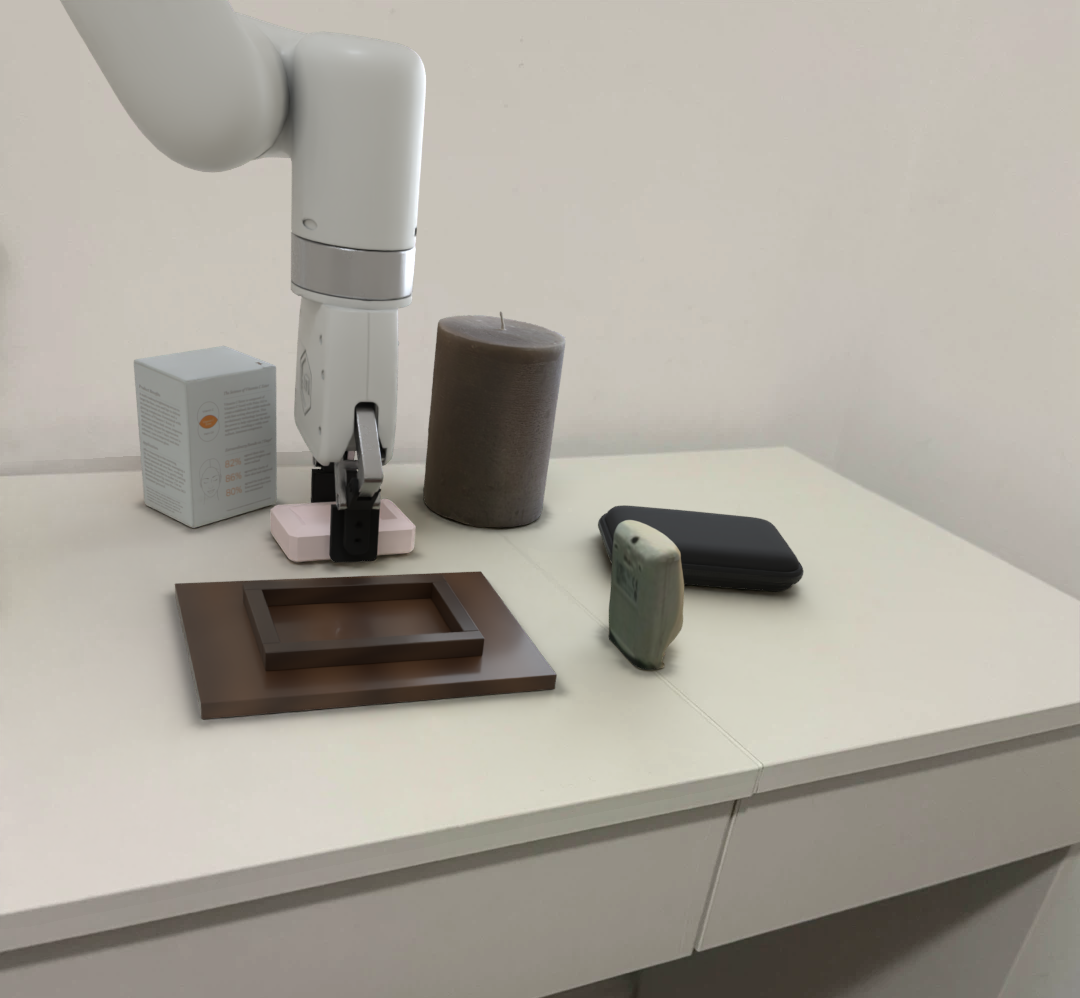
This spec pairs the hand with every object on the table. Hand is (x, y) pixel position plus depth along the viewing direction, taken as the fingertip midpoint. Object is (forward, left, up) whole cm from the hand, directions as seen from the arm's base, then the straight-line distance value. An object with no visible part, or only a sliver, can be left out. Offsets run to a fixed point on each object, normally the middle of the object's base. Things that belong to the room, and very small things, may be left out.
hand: (342, 538), depth 75 cm
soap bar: (0, 0, -1) cm, 1 cm away
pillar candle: (+13, +7, -1) cm, 15 cm away
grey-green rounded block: (+15, -17, -1) cm, 23 cm away
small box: (-8, +8, -1) cm, 11 cm away
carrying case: (+26, -5, -1) cm, 26 cm away
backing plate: (-2, -14, -1) cm, 14 cm away
